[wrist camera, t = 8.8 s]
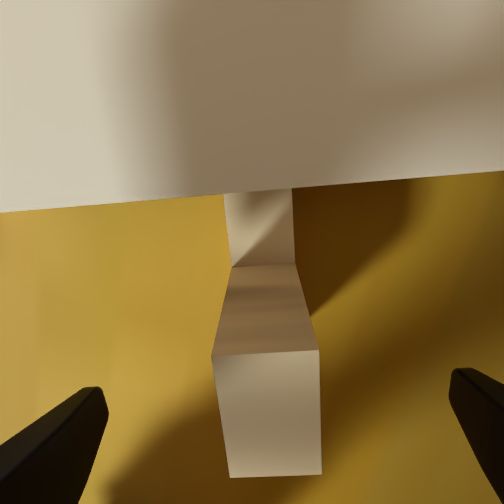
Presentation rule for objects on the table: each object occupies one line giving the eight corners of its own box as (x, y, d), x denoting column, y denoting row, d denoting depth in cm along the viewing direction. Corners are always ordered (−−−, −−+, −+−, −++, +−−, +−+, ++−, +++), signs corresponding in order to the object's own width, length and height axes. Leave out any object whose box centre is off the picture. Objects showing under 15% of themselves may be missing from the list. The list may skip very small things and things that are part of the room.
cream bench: (543, 147, 12) (719, 152, 8) (-5, 195, 13) (-148, 224, 9) (582, -49, 10) (852, -207, 6) (-63, 27, 12) (-287, -50, 7)
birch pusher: (354, 326, 15) (426, 471, 9) (187, 336, 16) (132, 481, 9) (361, -53, 10) (533, -381, 4) (122, -23, 11) (-91, -272, 4)
